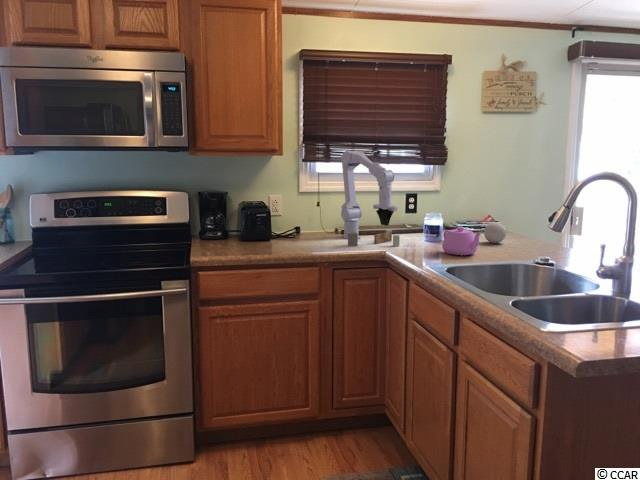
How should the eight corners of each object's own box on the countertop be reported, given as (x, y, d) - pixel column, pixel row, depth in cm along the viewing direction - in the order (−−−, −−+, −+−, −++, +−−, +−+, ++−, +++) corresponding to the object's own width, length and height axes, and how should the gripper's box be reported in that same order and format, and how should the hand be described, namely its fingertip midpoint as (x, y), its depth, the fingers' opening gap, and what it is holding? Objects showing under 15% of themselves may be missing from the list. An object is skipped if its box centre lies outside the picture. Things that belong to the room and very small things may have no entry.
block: (347, 244, 243) (347, 232, 242) (356, 244, 244) (356, 232, 243) (349, 246, 239) (349, 233, 238) (357, 246, 240) (357, 233, 239)
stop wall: (392, 245, 241) (393, 234, 240) (397, 245, 241) (398, 234, 240) (394, 246, 238) (394, 235, 237) (399, 246, 238) (399, 235, 237)
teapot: (433, 252, 223) (434, 226, 221) (451, 248, 231) (452, 223, 229) (472, 260, 208) (473, 231, 206) (490, 255, 216) (492, 228, 214)
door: (389, 240, 252) (389, 231, 251) (391, 241, 251) (391, 232, 251) (374, 243, 245) (374, 234, 244) (376, 244, 244) (376, 234, 243)
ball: (503, 245, 237) (504, 224, 235) (481, 244, 242) (482, 223, 240) (507, 242, 246) (508, 221, 244) (485, 240, 250) (486, 220, 249)
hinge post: (386, 240, 254) (386, 230, 253) (390, 239, 255) (390, 230, 254) (387, 240, 252) (387, 230, 251) (391, 240, 252) (391, 230, 252)
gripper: (402, 197, 235) (401, 226, 237) (381, 194, 247) (380, 222, 249) (390, 198, 231) (390, 227, 233) (370, 195, 243) (369, 223, 245)
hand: (384, 225), depth 241 cm, fingers closed
